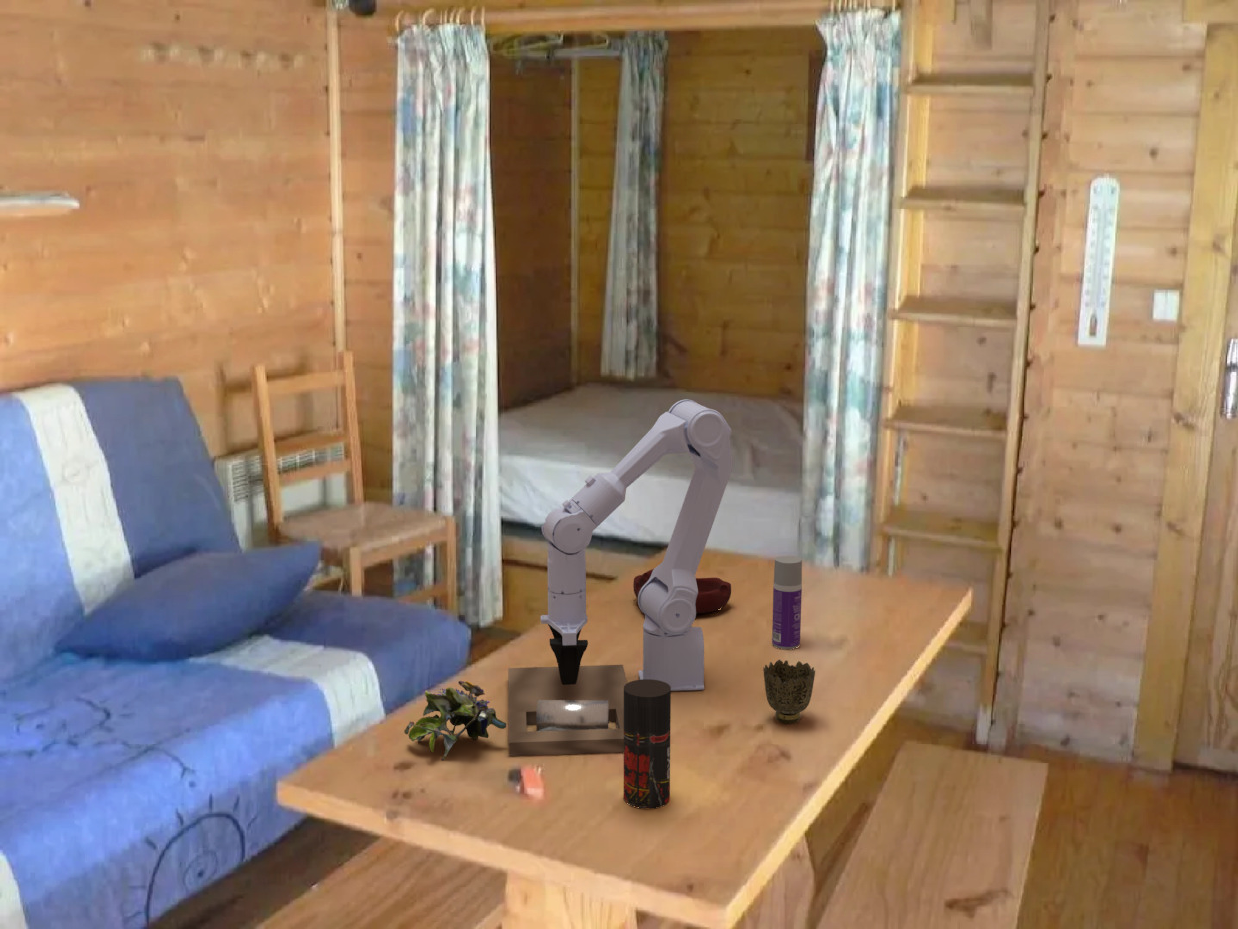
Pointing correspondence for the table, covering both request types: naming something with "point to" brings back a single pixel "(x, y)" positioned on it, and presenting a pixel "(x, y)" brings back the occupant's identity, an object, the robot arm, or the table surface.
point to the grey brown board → (548, 686)
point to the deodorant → (647, 743)
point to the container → (787, 602)
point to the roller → (572, 715)
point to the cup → (788, 689)
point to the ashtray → (709, 592)
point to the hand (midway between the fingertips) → (567, 674)
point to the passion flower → (454, 716)
